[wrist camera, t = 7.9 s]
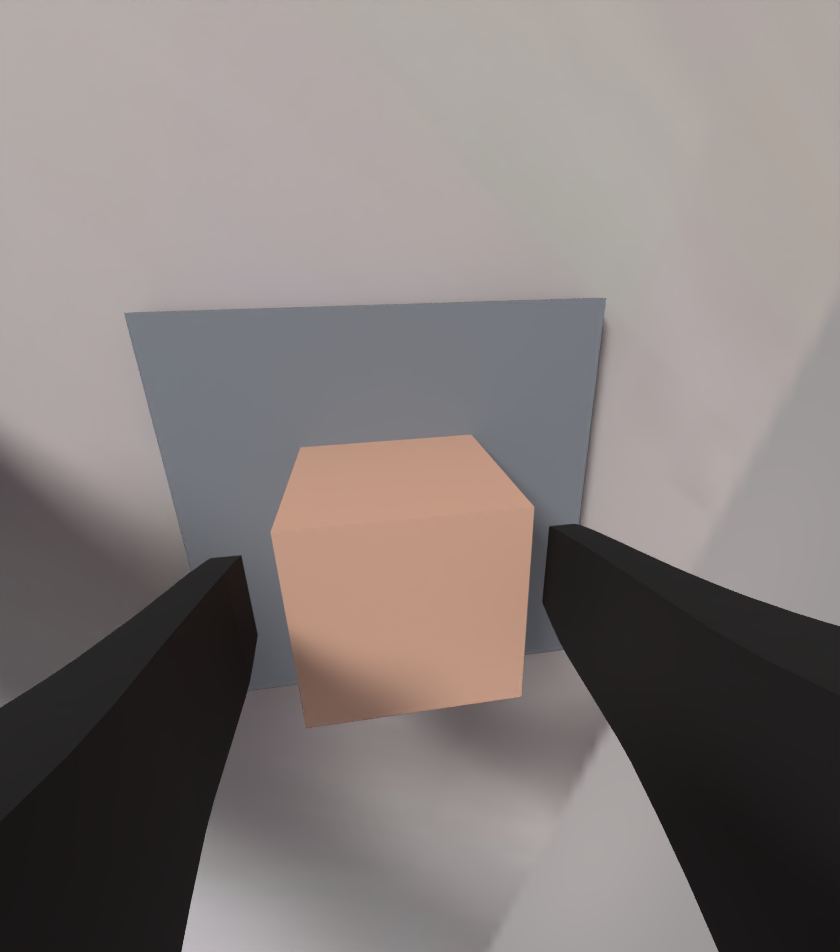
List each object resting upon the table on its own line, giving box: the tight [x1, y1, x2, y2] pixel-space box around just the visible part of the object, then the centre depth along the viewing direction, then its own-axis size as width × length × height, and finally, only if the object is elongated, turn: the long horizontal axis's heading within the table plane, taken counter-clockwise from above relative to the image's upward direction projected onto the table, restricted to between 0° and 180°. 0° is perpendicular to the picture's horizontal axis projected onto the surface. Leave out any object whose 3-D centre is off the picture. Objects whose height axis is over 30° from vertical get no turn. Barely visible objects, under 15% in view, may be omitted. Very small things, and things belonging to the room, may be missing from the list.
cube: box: [271, 435, 534, 728], centre depth 10 cm, size 4×4×4 cm
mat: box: [124, 298, 606, 691], centre depth 13 cm, size 11×11×1 cm
